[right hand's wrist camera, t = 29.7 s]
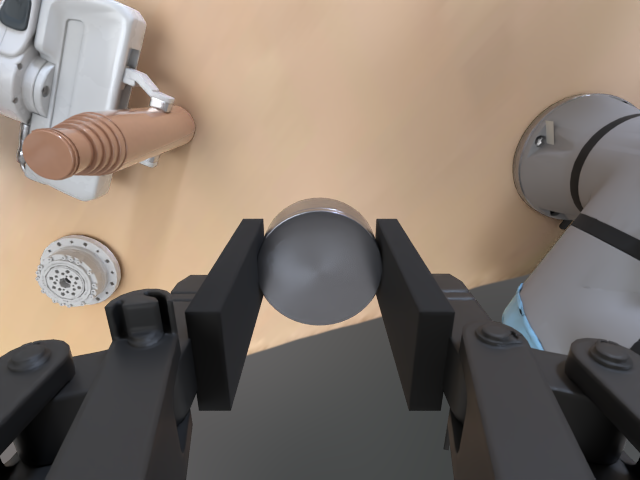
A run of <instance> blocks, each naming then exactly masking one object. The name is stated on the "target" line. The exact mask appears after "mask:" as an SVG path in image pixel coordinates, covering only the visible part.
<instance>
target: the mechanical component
mask: <svg viewBox="0 0 640 480" xmlns="http://www.w3.org/2000/svg"><path fill="white" fill-rule="evenodd" d="M36 274H37V277H36V280H37V281H38V283H39V285H40V287H41V288H42V290H41V292H42V293H46V295H47V296H48V297H50V298H51V299H53V300H52V301H53V303H56V302H57V303H59V305H60V306H63V305H66V306H67V307H71V306H72V307H76V306H84V305H85V304H90V305H91V304H96V303H100V302H102V301H104V300H106V299H107V298H108V297H109V296H111V295H112V294H113V293H114V291H115V290H116V289H117V287H118V285H119V282H120V279H121V272H120V267H119V264H118V261H117V259H116V258H115V256H114V255H113V253H112V252H111V251H110V250H109V249H108V248H107V247H106V246H104V245H103V244H102V243H100V242H98V241H97V240H95V239H92V238H89V237H86V236H82V235H70V236H65V237H62V238H60V239H58V240H56V241H54V242H52V243H51V244H50V245H49V246H48V247H47V248H46V249H45V250H44V252H43V254H42V257H41V264H40V265H39V266H38V271H36Z"/></svg>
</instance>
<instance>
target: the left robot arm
mask: <svg viewBox="0 0 640 480" xmlns="http://www.w3.org/2000/svg"><path fill="white" fill-rule="evenodd" d="M145 31H146V22H145V20H144V18H143V17H142V15H141V14H140V12H139V11H137V10H135V9H133V8H131V7H129V6H126V5H124V4H122V3H119V2H117V1H114V0H2V1H1V3H0V114H2V115H4V116H7V117H9V118H12V119H14V120H17V121H19V122H21V124H20V132H19V148H18V150H17V154H16V158H17V162H19V163H20V165H21V168H22V170H23V172H24V174H25V176H26V177H28V178H29V179H31V180H34V181H37V182H39V183H42V184H46V185H49V186H51V187H53V188H55V189H57V190H59V191H61V192H63V193H65V194H67V195H69V196H71V197H74V198H76V199H79V200H81V201H91V200H94V199H97V198H99V197H101V196H103V195H105V194H106V193H108V191H109V188H110V184H111V179H112V175H113V173H112V174H108V175H102V176H81V175H80V176H75V175H73V176H72V177H69V178H66V179H63V180H50V179H46V178H43V177H41V176H39V175H37V174H36V173H35V172H33V171H32V170H31V169H30V167H29V166H28V165H27V163H26V161H25V159H24V157H23V153H22V145H23V142H24V140H25V138H26V137H27V136H28V135H29V134H30V133H32V132H31V131H32V130H35V129H41V128H52V127H54V126H55V125H57V124H59V123H60V122H63V121H64V120H66V119H68V118H70V117H71V116H73V115H76V114H80V113H83V112H92V111H104V110H117V109H128V105H129V101H130V96H131V92H132V87H142V89H143V90H144V91H145V92H146V93H147V94H148V95H149V96H150V97H151V100H150V105H149V106H151V107H154V108H159V109H160V110H161V111H163V112H167V113H169V112H171V111H172V107H173V104H174V100H175V98H173V97H171V96H169V95H166V94H164V93H162V92H159V91H160V90H159V89H158V88H157V87H156V85H155V84H154V83H153V82H152V81H151V79H150V78H149V77H148V76H147V74H145V73H142V72H140V71H138V70H137V66H138V61H139V57H140V52H141V48H142V44H143V39H144V35H145ZM159 156H160V155H157V156H155V157H152V158H149V159H147V160H144V161H142V162H139V163H140V164H143V165H146V166H148V167H155V166H157V164H158V160H159ZM25 164H26V166H25Z"/></svg>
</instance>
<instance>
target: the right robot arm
mask: <svg viewBox="0 0 640 480" xmlns="http://www.w3.org/2000/svg"><path fill="white" fill-rule="evenodd" d="M513 177H514V183H515V186H516V189H517V191H518V193H519V195H520V196H521V198H522V199H523V200H524V202H525V203H526V204H527V205H529V206H530V207H531V208H533V209H534V210H536V211H538V212H540V213H542V214H544V215H546V216H548V217H551V218H555V219H562V220H563V221H562V223H561V224H560V225H559V227H560V228H561V229H566V228H567V227H568V225H569V224H570V223H571V222H572V220H574V222H573V223H572V224H571V225H570V226H569V227H568V228H567V230H566V231H565V232H564V233H563V235H562V236H561V237H560V238H559V240H558V241H557V242H556V243H555V245H554V246H553V247H552V248H551V250H550V251H549V252H548V253H547V255H546V256H545V257H544V258H543V260H542V261H541V262H540V263H539V265H538V266H537V267H536V268H535V270H534V271H533V272H532V273H531V275H530V276H529V277H528V278H527V279H526V281H525V282H524V283H521V284H520V285H519V287H518V289H517V292H516V295H515V296H514V297H513V299H512V300H511V302H510V303H509V304H508V306H507V307H506V308H505V310H504V312H503V315H502V323H500V322H495V321H492V320H491V319H490V317H489V316H488V315H487V313H486V312H485V311H484V310H483V308H482V307H481V306H480V304H479V303H478V302H477V300H475V298H474V297H473V295H472V294H471V293H470V292H469V290H468V289H467V287H466V286H465V285H464V284H463V282H462V281H460V280H459V279H457V278H455V277H454V276H452V275H450V274H431V273H430V271H429V270H428V268H427V266H426V265H425V263H424V262H423V260H422V258H421V257H420V255H419V254H418V252H417V250H416V249H415V247H414V246H413V244H412V243H411V241H410V239H409V238H408V236H407V235H406V233H405V231H404V230H403V228H402V227H401V225H400V223H399V222H398V220H397V219H377V220H376V238H375V239H376V242H377V244H378V247H379V250H380V253H381V257H382V278H381V283H380V286H379V288H378V290H377V292H376V296H377V300H378V303H379V307H380V310H381V314H382V317H383V321H384V324H385V328H386V331H387V335H388V338H389V342H390V345H391V349H392V352H393V356H394V359H395V363H396V366H397V370H398V374H399V377H400V381H401V384H402V388H403V391H404V395H405V398H406V402H407V405H408V409H409V411H440V410H441V405H442V398H443V391H444V394H445V396H446V399H447V401H448V403H449V406H450V412H449V418H448V424H447V430H446V437H445V443H444V449H445V450H449V445H450V449H451V457H452V466H453V474H454V480H640V458H639V460H638V462H637V463H635V462H634V461H633V460H632V459H631V458H630V457H629V456H628V455H627V454H626V453H625V452H624V450H623V449H624V447H625V444H626V442H627V439H628V440H629V441H630V443H631V444H632V445H633V446H634V447H635V448H636V449H637V450H638V451H639V452H640V110H639V109H637V108H636V107H635V106H634V105H632V104H631V103H629V102H628V101H626V100H624V99H621V98H619V97H616V96H613V95H608V94H580V95H575V96H571V97H568V98H565V99H563V100H561V101H559V102H557V103H555V104H553V105H552V106H550V107H549V108H547V109H546V110H544V111H543V112H542V113H541V114H540V115H539V116H538V117H537V118H536V119H535V120H534V121H533V122H532V123H531V124H530V125H529V127H528V128H527V130H526V131H525V133H524V134H523V136H522V138H521V140H520V142H519V144H518V147H517V149H516V153H515V157H514V163H513ZM263 239H264V225H263V219H243V220H242V221H241V223H240V225H239V226H238V228H237V229H236V231H235V233H234V234H233V236H232V237H231V239H230V241H229V242H228V244H227V245H226V247H225V248H224V250H223V252H222V253H221V255H220V256H219V258H218V260H217V261H216V263H215V264H214V266H213V267H212V269H211V271H210V272H209V274H208V275H190V276H188V277H187V278H185V279H183V280H182V281H180V282H179V283H177V285H176V286H175V287H174V289H173V290H172V291H171V294H170V293H169V292H167V291H165V290H160V289H143V290H137V291H132V292H129V293H126V294H123V295H121V296H119V297H117V298H115V299H113V300H112V301H110V302H109V303H108V304H107V305H106V306H105V311H106V315H107V320H108V324H109V328H110V332H111V337H112V343H111V345H110V347H109V349H108V350H104V351H100V352H95V353H90V354H85V355H79V356H74V357H72V354H71V351H70V347H69V345H68V344H67V343H65V342H64V341H60V340H54V339H53V340H40V341H35V342H33V343H32V342H31V343H27V344H24V345H22V346H21V347H19V348H16V349H14V350H12V351H10V352H8V353H6V354H5V355H3V356H2V357H0V455H1V454H2V453H3V452H4V450H5V449H6V448H7V447H8V446H9V445H10V444H11V443H12V442H13V443H14V445H15V448H16V450H17V452H16V454H15V455H14V456H13V457H12V458H11V459H10V460H9V461H8V462H6V463H5V464H3V463H2V461H1V459H0V480H186V475H187V467H188V458H189V450H190V441H191V433H192V418H191V411H190V407H191V405H192V402H193V400H194V397H195V395H196V393H197V400H198V407H199V410H200V411H230V410H231V408H232V404H233V400H234V397H235V394H236V390H237V387H238V383H239V380H240V376H241V373H242V369H243V366H244V362H245V358H246V355H247V352H248V348H249V344H250V341H251V337H252V334H253V330H254V327H255V323H256V320H257V316H258V313H259V309H260V306H261V302H262V299H263V293H262V291H261V289H260V286H259V282H258V268H257V255H258V252H259V249H260V246H261V244H262V241H263Z"/></svg>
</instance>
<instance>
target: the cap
mask: <svg viewBox="0 0 640 480" xmlns="http://www.w3.org/2000/svg"><path fill="white" fill-rule="evenodd" d="M257 268H258V282H259V286H260V289H261V291H262V293H263V295H264V296H265V298H266V299H267V301H268V302H269V303H270V304H271V305H272V306H273V307H274V308H275V309H276V310H277V311H278V312H280V313H281V314H283V315H284V316H286V317H288V318H290V319H292V320H294V321H297V322H300V323H304V324H309V325H329V324H335V323H339V322H342V321H345V320H347V319H349V318H351V317H353V316H355V315H356V314H358V313H359V312H361V311H362V310H363V309H364V308H365V307H366V306H367V305H368V304H369V303H370V302H371V300H372V299H373V297H374V296H375V294H376V292H377V290H378V288H379V286H380V283H381V278H382V257H381V253H380V250H379V247H378V244H377V242H376V239H375V237H374V234H373V232H372V230H371V227H370V226H369V224H368V222H367V221H366V220H365V219H364V217H363V216H362V215H361V214H360V213H359V212H358V211H357V210H355V209H354V208H352V207H351V206H349V205H347V204H345V203H343V202H340V201H337V200H333V199H329V198H311V199H305V200H302V201H298V202H296V203H294V204H292V205H290V206H288V207H287V208H285V209H284V210H283V211H281V212H280V213H279V214H278V215H277V216H276V217H275V218H274V219H273V221H272V222H271V224H270V225H269V227H268V229H267V231H266V234H265V236H264V239H263V241H262V244H261V246H260V249H259V252H258V255H257Z"/></svg>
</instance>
